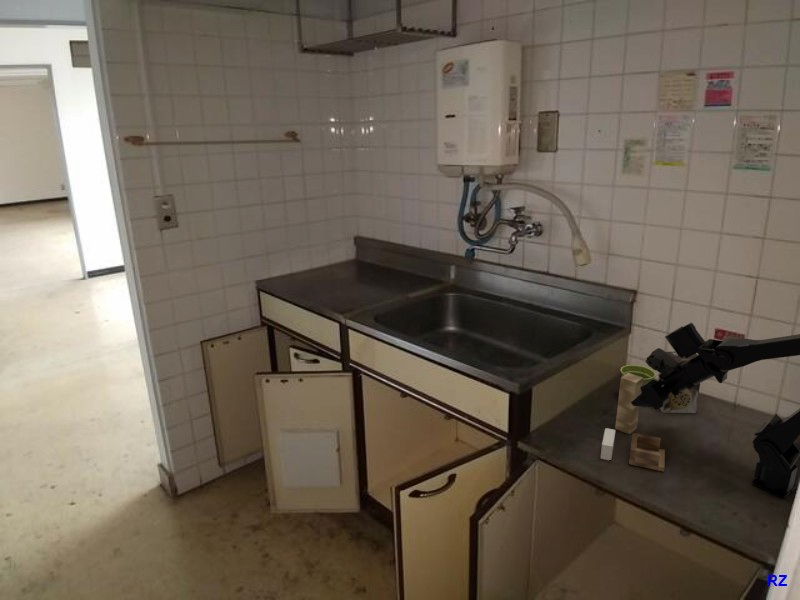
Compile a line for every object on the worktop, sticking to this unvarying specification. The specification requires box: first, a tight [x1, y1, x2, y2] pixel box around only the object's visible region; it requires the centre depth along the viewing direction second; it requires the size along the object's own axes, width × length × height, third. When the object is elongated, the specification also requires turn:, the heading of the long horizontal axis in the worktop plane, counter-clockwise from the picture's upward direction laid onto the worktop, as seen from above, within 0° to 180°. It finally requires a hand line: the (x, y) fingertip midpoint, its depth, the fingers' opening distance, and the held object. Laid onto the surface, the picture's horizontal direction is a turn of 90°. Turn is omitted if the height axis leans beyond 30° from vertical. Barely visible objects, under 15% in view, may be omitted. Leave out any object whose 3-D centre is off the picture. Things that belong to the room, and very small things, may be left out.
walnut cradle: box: [628, 432, 666, 472], centre depth 133 cm, size 8×8×4 cm
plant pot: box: [620, 364, 657, 393], centre depth 161 cm, size 9×9×9 cm
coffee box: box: [657, 351, 701, 414], centre depth 154 cm, size 9×6×16 cm
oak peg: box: [614, 373, 643, 435], centre depth 145 cm, size 4×4×15 cm
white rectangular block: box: [600, 427, 616, 461], centre depth 137 cm, size 2×8×4 cm, turn 155°
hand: (640, 397), depth 142 cm, fingers open, 9 cm apart
